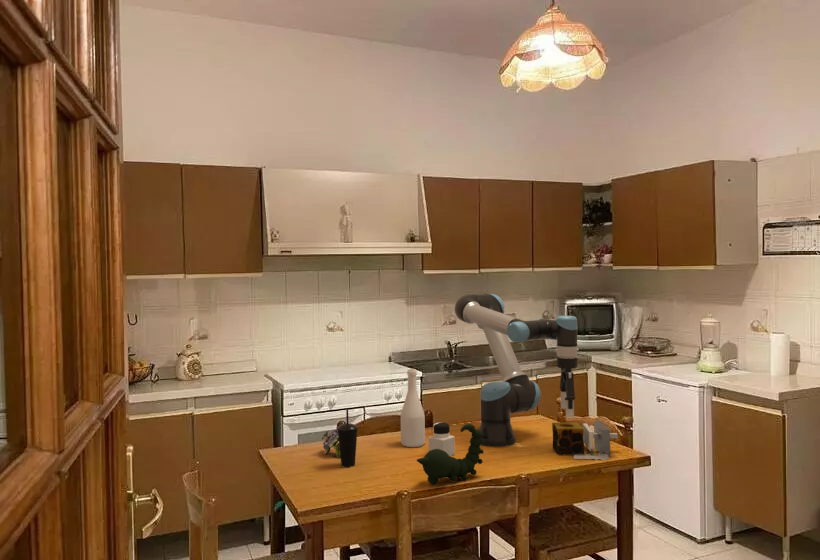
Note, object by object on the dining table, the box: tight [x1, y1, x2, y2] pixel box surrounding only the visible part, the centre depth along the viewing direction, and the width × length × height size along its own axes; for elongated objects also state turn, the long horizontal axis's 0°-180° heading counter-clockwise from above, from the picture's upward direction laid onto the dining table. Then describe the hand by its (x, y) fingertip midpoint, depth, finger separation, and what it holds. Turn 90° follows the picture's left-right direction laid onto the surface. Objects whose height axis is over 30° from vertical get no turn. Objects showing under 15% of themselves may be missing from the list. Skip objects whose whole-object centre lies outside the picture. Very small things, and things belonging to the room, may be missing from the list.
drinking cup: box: [336, 408, 359, 468], centre depth 227 cm, size 8×8×20 cm
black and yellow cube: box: [551, 421, 585, 456], centre depth 239 cm, size 10×10×10 cm
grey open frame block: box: [572, 420, 611, 461], centre depth 237 cm, size 14×18×10 cm
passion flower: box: [321, 429, 341, 459], centre depth 241 cm, size 11×11×12 cm
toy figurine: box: [416, 423, 484, 486], centre depth 208 cm, size 9×19×25 cm
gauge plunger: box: [582, 423, 619, 454], centre depth 237 cm, size 12×16×7 cm
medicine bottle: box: [428, 421, 456, 457], centre depth 237 cm, size 7×7×12 cm
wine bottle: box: [400, 368, 426, 448], centre depth 252 cm, size 10×10×30 cm
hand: (567, 412), depth 240 cm, fingers open, 13 cm apart
